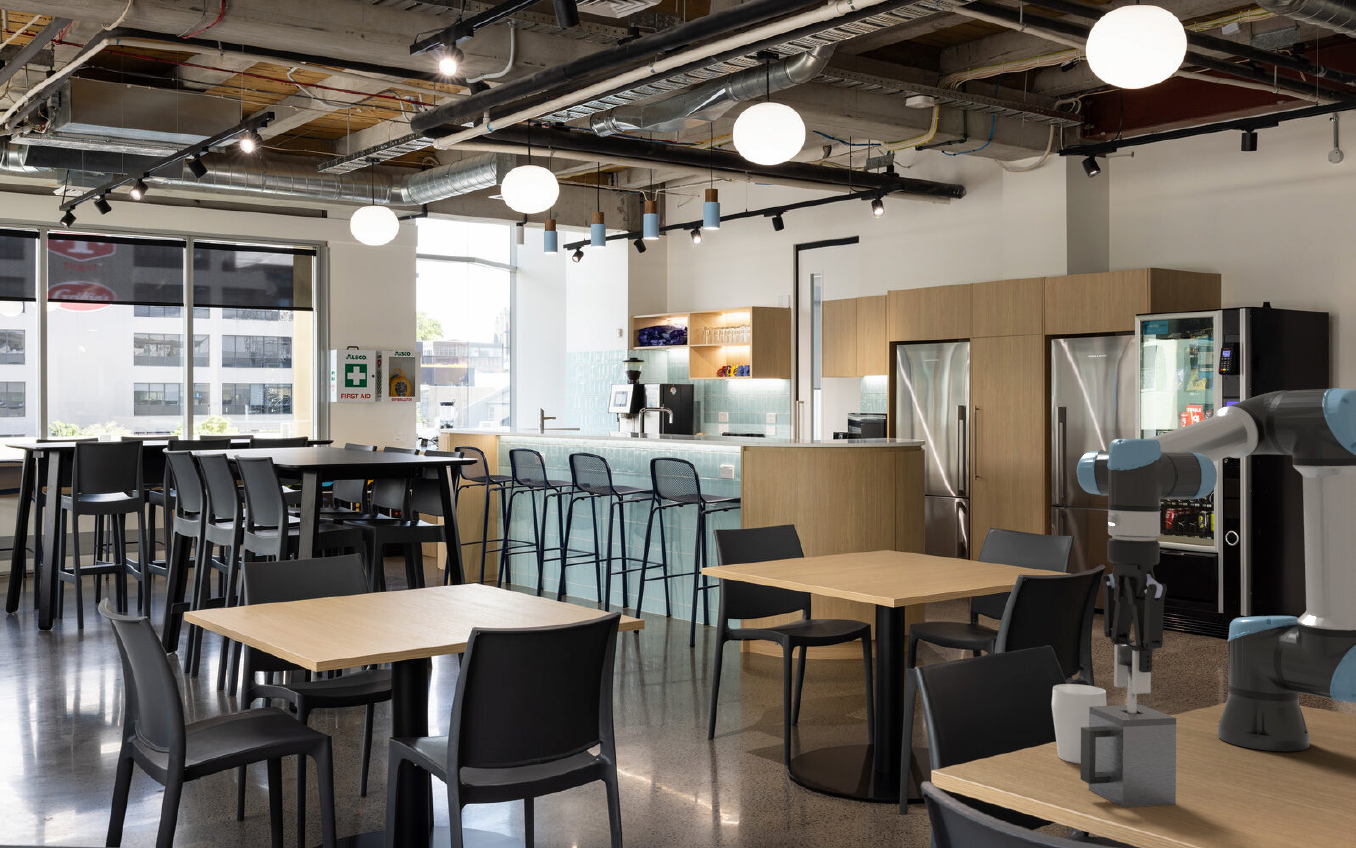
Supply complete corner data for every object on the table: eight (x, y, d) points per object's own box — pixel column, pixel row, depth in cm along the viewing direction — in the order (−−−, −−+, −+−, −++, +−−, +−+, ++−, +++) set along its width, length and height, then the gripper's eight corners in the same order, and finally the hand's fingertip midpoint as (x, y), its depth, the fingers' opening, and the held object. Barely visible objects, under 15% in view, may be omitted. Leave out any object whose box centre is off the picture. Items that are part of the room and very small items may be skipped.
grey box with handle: (1139, 786, 183) (1140, 704, 183) (1175, 804, 174) (1176, 718, 174) (1068, 790, 180) (1069, 707, 180) (1101, 808, 171) (1102, 721, 172)
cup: (1110, 768, 194) (1111, 696, 194) (1054, 764, 195) (1055, 693, 196) (1101, 754, 202) (1102, 685, 203) (1048, 750, 204) (1049, 682, 204)
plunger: (1137, 770, 181) (1138, 640, 182) (1162, 782, 175) (1163, 648, 176) (1100, 772, 180) (1102, 641, 180) (1125, 784, 174) (1126, 649, 174)
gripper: (1080, 533, 186) (1079, 679, 185) (1145, 543, 169) (1144, 702, 169) (1122, 533, 187) (1120, 678, 187) (1190, 542, 171) (1189, 701, 170)
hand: (1132, 689), depth 178 cm, fingers closed on plunger, 4 cm apart
